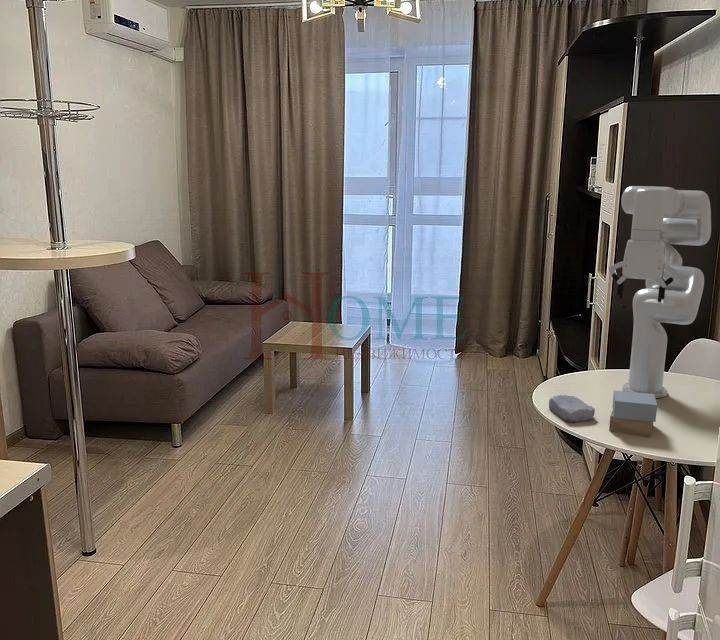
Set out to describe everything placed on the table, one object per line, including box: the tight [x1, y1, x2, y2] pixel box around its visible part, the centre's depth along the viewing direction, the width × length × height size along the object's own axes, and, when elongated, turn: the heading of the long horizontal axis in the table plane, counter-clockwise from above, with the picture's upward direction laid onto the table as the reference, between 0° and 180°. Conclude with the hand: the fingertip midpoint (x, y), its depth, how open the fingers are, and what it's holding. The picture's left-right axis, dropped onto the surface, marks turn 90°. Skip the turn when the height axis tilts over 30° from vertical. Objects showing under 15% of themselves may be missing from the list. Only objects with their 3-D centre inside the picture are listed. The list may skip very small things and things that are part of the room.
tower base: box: [608, 410, 654, 439], centre depth 184 cm, size 9×10×4 cm
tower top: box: [612, 389, 658, 423], centre depth 183 cm, size 9×10×4 cm
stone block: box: [548, 394, 596, 423], centre depth 194 cm, size 12×5×10 cm
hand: (640, 299), depth 188 cm, fingers open, 9 cm apart
